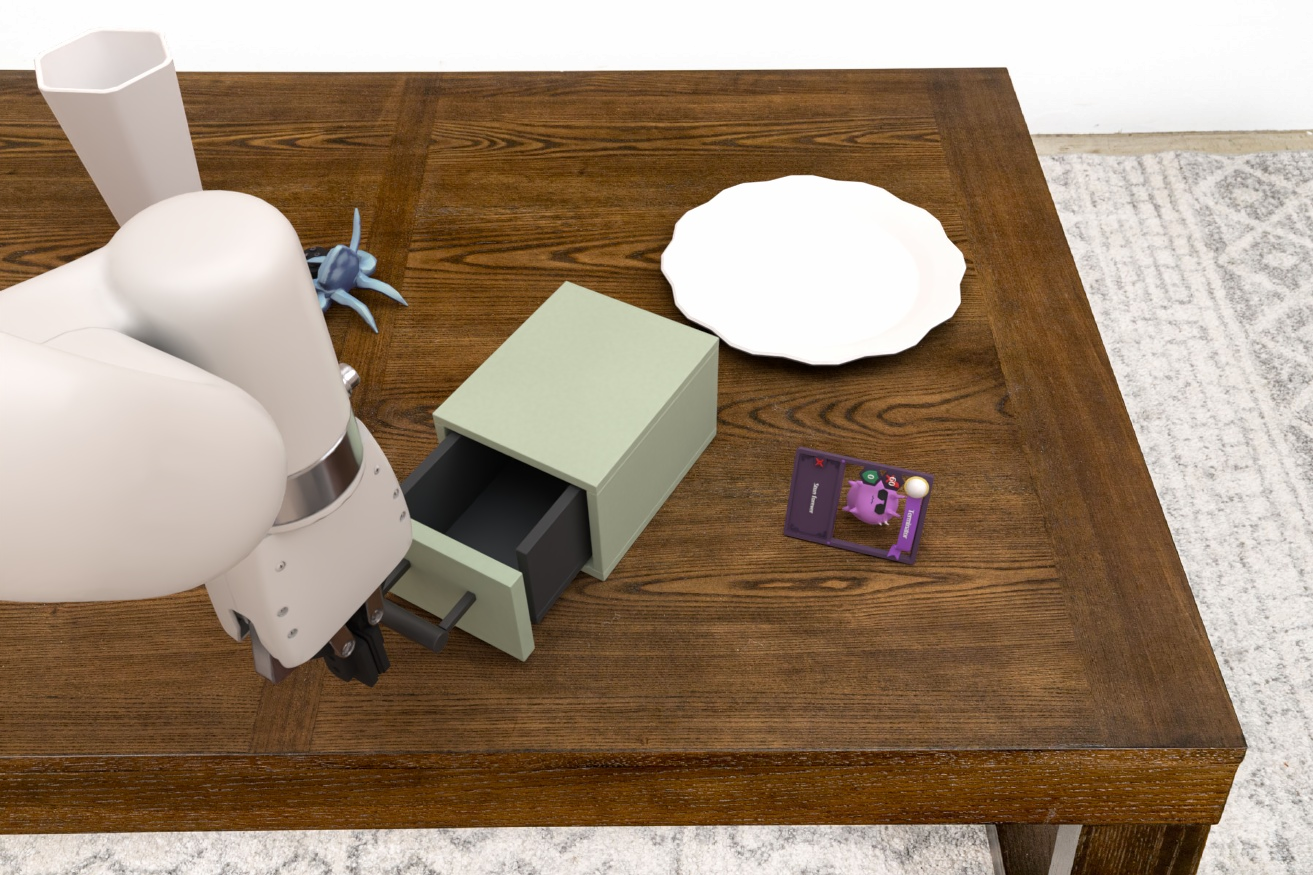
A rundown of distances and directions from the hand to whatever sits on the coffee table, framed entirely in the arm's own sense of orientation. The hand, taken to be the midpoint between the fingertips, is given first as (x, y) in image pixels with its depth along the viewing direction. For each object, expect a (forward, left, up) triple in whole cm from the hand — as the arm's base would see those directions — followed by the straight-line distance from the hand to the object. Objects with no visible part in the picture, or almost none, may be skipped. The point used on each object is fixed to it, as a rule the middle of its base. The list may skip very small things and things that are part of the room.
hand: (361, 666), depth 66 cm
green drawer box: (+14, +19, -6) cm, 24 cm away
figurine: (-6, +41, -6) cm, 42 cm away
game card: (+32, +12, -6) cm, 34 cm away
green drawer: (+7, +10, -5) cm, 13 cm away
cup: (-22, +52, -6) cm, 57 cm away
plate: (+34, +39, -6) cm, 52 cm away
